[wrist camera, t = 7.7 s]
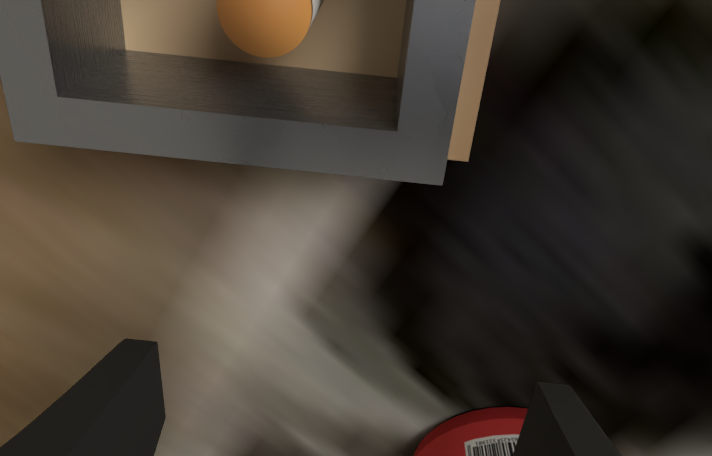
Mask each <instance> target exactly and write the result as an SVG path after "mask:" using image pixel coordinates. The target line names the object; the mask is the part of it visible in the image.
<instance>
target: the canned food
mask: <svg viewBox="0 0 712 456" xmlns="http://www.w3.org/2000/svg"><path fill="white" fill-rule="evenodd" d="M527 410H528V409H527V408H516V407H495V408H486V409H480V410H475V411H471V412H468V413H465V414H462V415H459V416H456V417H453V418H452V419H450V420H448V421H446V422H444V423H442V424H440V425H439V426H437V427H436V428H435V429H433V430H432V431H431V432H429V433H428V434H427V435H426V436H425V438H424V439H423V440H422V441H421V442H420V443H419V445H418V447H417V449H416V451H415V452H414V455H413V456H513V452H514V449H515V446H516V443H517V440H518V437H519V434H520V431H521V428H522V425H523V422H524V419H525V416H526V413H527Z"/></svg>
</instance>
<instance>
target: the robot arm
mask: <svg viewBox="0 0 712 456" xmlns="http://www.w3.org/2000/svg"><path fill="white" fill-rule="evenodd" d="M164 421H165V408H164V399H163V390H162V380H161V371H160V362H159V353H158V344H157V342H153V341H144V340H134V339H124V340H123V341H122V342H120V343H119V344H118V345H117V346H116V347H115V348H114V349H113V350H111V351H110V352H109V353H108V354H107V355H106V356H105V357H104V358H103V359H102V360H101V361H100V362H99V363H97V364H96V365H95V366H94V367H93V368H92V369H91V370H90V371H89V372H88V373H87V374H86V375H84V376H83V377H82V378H81V379H80V380H79V381H78V382H77V383H76V384H75V385H73V386H72V387H71V388H70V389H69V390H68V391H67V392H66V393H65V394H63V395H62V396H61V397H60V398H59V399H58V400H57V401H55V402H54V403H53V404H52V405H51V406H50V407H49V408H47V409H46V410H45V411H44V412H43V413H42V414H41V415H39V416H38V417H37V418H36V419H35V420H34V421H32V422H31V423H30V424H29V425H28V426H27V427H25V428H24V429H23V430H22V431H20V432H19V433H18V434H17V435H15V436H14V437H13V438H12V439H10V440H9V441H8V442H7V443H5V444H4V445H3V446H2V447H0V456H154V453H155V450H156V447H157V444H158V440H159V437H160V434H161V430H162V427H163V424H164ZM513 456H621V455H620V453H619V452H618V451H617V449H616V448H615V447H614V445H613V444H612V442H611V441H610V440H609V438H608V437H607V436H606V434H605V433H604V432H603V430H602V429H601V427H600V426H599V425H598V423H597V422H596V421H595V419H594V418H593V416H592V415H591V414H590V412H589V411H588V409H587V408H586V407H585V405H584V404H583V403H582V401H581V400H580V398H579V397H578V396H577V394H576V393H575V392H574V390H573V389H572V388H571V386H570V385H565V384H555V383H546V382H537V383H536V386H535V389H534V392H533V395H532V398H531V401H530V404H529V407H528V410H527V413H526V416H525V419H524V422H523V425H522V428H521V431H520V434H519V437H518V440H517V443H516V446H515V449H514V452H513Z"/></svg>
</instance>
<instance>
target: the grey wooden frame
mask: <svg viewBox="0 0 712 456" xmlns="http://www.w3.org/2000/svg"><path fill="white" fill-rule="evenodd" d="M475 2H476V0H407V1H406V9H405V17H404V25H403V33H402V41H401V49H400V57H399V66H398V74H397V78H395V77H386V76H376V75H366V74H356V73H347V72H337V71H327V70H317V69H308V68H298V67H288V66H278V65H269V64H259V63H249V62H239V61H230V60H220V59H210V58H200V57H191V56H181V55H171V54H162V53H152V52H142V51H132V50H126V47H125V37H124V28H123V19H122V10H121V1H120V0H0V77H1V81H2V86H3V90H4V95H5V99H6V104H7V108H8V113H9V118H10V122H11V127H12V131H13V136H14V140H15V141H17V142H27V143H36V144H46V145H56V146H65V147H75V148H85V149H94V150H104V151H114V152H123V153H133V154H143V155H153V156H162V157H172V158H182V159H191V160H201V161H211V162H220V163H230V164H240V165H249V166H259V167H269V168H278V169H288V170H298V171H308V172H317V173H327V174H337V175H346V176H356V177H366V178H375V179H385V180H395V181H404V182H414V183H424V184H433V185H443V180H444V174H445V169H446V163H447V158H448V152H449V146H450V141H451V135H452V130H453V124H454V119H455V113H456V108H457V102H458V96H459V91H460V85H461V80H462V74H463V69H464V63H465V58H466V52H467V46H468V41H469V35H470V30H471V24H472V19H473V13H474V8H475Z"/></svg>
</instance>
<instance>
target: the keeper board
mask: <svg viewBox="0 0 712 456" xmlns="http://www.w3.org/2000/svg"><path fill="white" fill-rule="evenodd" d="M120 1H121V10H122V19H123V28H124V37H125V47H126V50H132V51H142V52H152V53H162V54H171V55H181V56H191V57H200V58H210V59H220V60H230V61H239V62H249V63H259V64H269V65H278V66H288V67H298V68H308V69H317V70H327V71H337V72H347V73H356V74H366V75H376V76H386V77H395V78H397V74H398V66H399V57H400V49H401V41H402V33H403V25H404V17H405V9H406V1H407V0H120ZM499 4H500V0H476V2H475V8H474V13H473V19H472V24H471V30H470V35H469V41H468V46H467V52H466V58H465V63H464V69H463V74H462V80H461V85H460V91H459V96H458V102H457V108H456V113H455V119H454V124H453V130H452V135H451V141H450V146H449V152H448V158H447V159H448V160H458V161H467V162H468V159H469V154H470V149H471V144H472V139H473V134H474V129H475V124H476V119H477V114H478V109H479V104H480V99H481V94H482V89H483V84H484V79H485V74H486V69H487V64H488V59H489V54H490V49H491V44H492V39H493V34H494V29H495V24H496V19H497V14H498V9H499Z"/></svg>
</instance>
